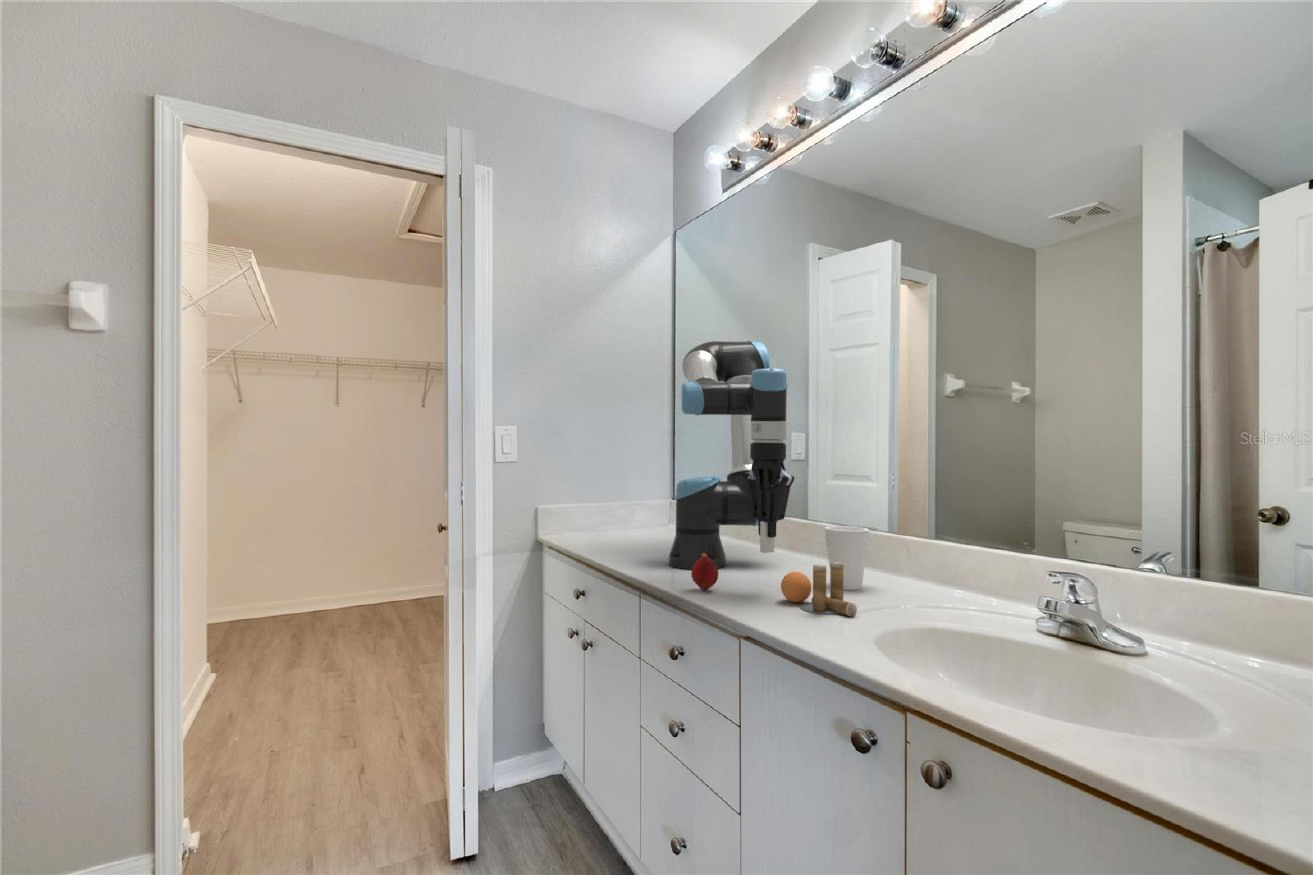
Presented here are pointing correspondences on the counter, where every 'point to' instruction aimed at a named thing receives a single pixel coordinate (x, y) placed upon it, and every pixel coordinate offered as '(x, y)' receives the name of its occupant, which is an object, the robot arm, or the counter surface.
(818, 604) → the pin
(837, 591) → the pin
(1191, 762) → the counter surface
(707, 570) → the onion
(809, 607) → the pin spot
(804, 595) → the ball
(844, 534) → the foam cup
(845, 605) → the pin front
